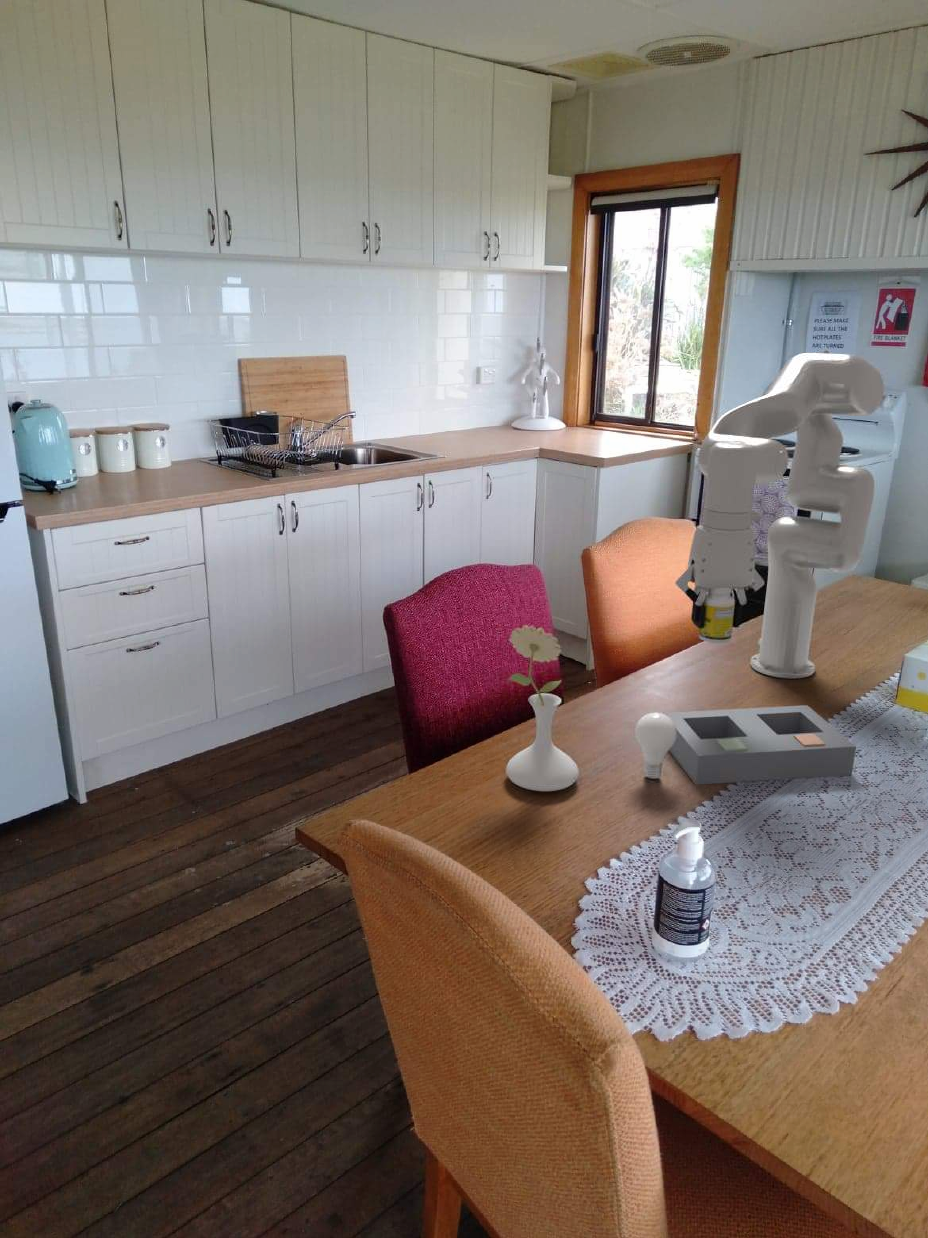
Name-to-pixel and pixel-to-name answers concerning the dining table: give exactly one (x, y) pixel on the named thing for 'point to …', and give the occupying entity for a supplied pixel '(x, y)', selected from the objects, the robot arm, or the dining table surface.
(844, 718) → the dining table surface
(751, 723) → the socket board
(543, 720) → the flower in vase
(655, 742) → the lightbulb
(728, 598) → the supplement bottle
